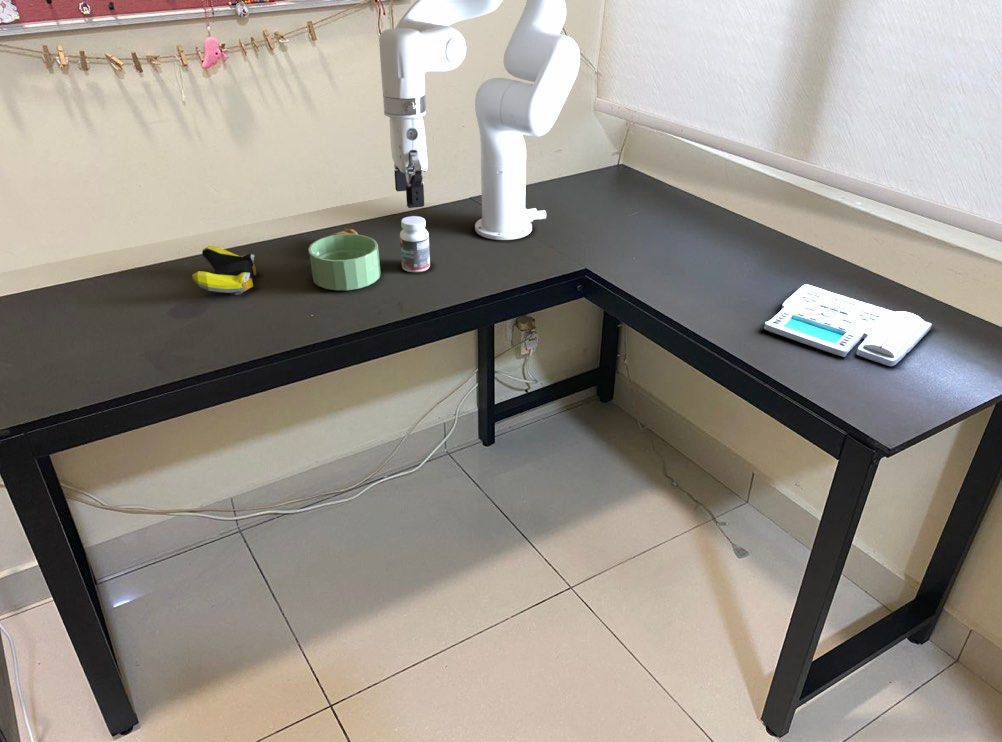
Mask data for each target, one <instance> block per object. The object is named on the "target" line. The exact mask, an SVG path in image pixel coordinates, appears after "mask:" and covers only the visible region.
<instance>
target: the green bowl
mask: <svg viewBox="0 0 1002 742" xmlns="http://www.w3.org/2000/svg"><path fill="white" fill-rule="evenodd" d="M307 251H308V258H309V264H310V270H311V271H310V272H311V277H312V281H313V283H314V284H315V285H316V286H317V287H320V288H322V289H325V290H331V291H352V290H358V289H362V288H365V287H368V286H370V285H371V284H374V283H375V282H377V281H378V280H379V279H380V277H381V262H380V251H379V244H378V242H377V240H375V239H374V238H372V237H371V236H367V235H364V234H358V233H357V234H339V235H332V236H330V235H327V236H324V237H322V238H319V239H316V240H315V241H314V242H312V243H311V244H310V245H309V247H308V250H307Z"/></svg>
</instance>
